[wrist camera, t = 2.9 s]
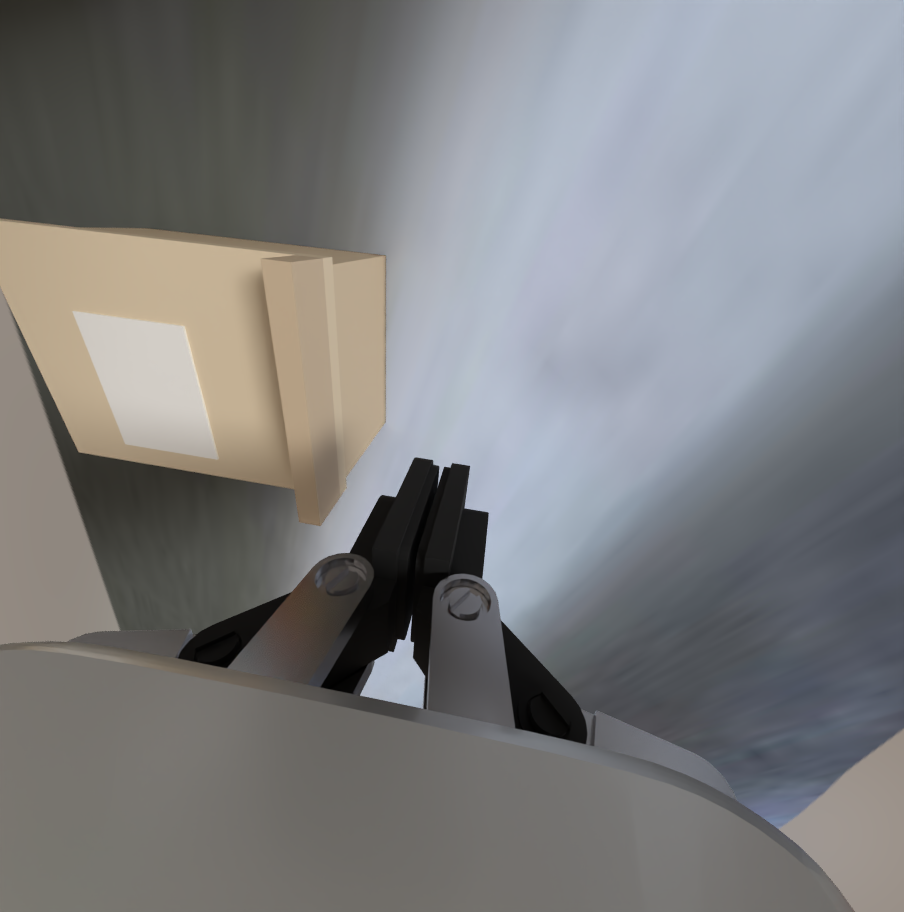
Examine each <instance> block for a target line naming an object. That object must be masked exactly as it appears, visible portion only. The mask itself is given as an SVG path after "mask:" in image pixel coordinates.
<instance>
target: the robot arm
mask: <svg viewBox="0 0 904 912" xmlns="http://www.w3.org/2000/svg"><path fill="white" fill-rule="evenodd" d="M469 470H470V466H467V465H461V464H454V463H452V465H451V468H449V467H444V469H443V472H442V476H441V479H440V482H439V485H438V477H439V466H436V465H433V460H428V459H422V458H414V460H413V462H412V464H411V466H410V468H409V471H408V473H407V475H406V477H405V479H404V481H403V483H402V485H401V488H400V490H399V492H398V494H397V496H396V497H391V496H385V495H382V496H380V498H379V499H378V501H377V503H376V505H375V506H374V508H373V510H372V512H371V514H370V516H369V518H368V519H367V521H366V523H365V525H364V527H363V529H362V531H361V533H360V534H359V536H358V538H357V540H356V542H355V544H354V546H353V547H352V549H351V551H350V553H341V554H335V555H332V556H328V557H327V558H325V559H323V560H321V561H319V562H318V563H317V564H316V565H315V566H314V567H313V568H312V569H311V570H310V571H309V573H308V574H307V575H306V576H305V577H304V578H303V580H302V581H301V582H300V583H299V584H298V585H297V587H296V588H295V589H294V590H293V591H292V592H291V593H289V594H286V595H284V596H281V597H279V598H277V599H274V600H272V601H269V602H267V603H265V604H262V605H260V606H257V607H255V608H253V609H250V610H248V611H245V612H243V613H240V614H238V615H236V616H233V617H231V618H228V619H226V620H224V621H221V622H219V623H216V624H214V625H212V626H210V627H208V628H206V629H204V630H202V631H201V632H199V633H198V634H192V632H191V629H178V630H140V631H104V632H103V631H102V632H94V633H88V634H84V635H81V636H79V637H76V638H74V639H71V640H69V641H68V642H54V641H46V642H25V643H24V642H23V643H10V644H3V645H0V912H855V911H854V910H853V908H852V907H851V905H850V904H849V903H848V901H847V900H846V899H845V897H844V896H843V894H842V893H841V892H840V890H839V889H838V887H837V886H836V885H835V884H834V883H833V881H832V880H831V879H830V878H829V877H828V876H827V874H826V873H825V872H824V871H823V869H822V868H821V867H820V866H819V865H818V864H817V863H816V862H815V861H814V860H813V859H812V858H811V857H810V856H809V855H808V854H807V853H806V852H805V851H804V850H803V849H802V848H801V847H799V846H798V845H797V844H796V843H795V842H793V841H792V840H791V839H790V838H788V837H787V836H786V835H785V834H783V833H782V832H781V831H780V830H778V829H777V828H776V827H774V826H773V825H772V824H770V823H769V822H768V821H766V820H765V819H763V818H762V817H760V816H759V815H757V814H756V813H754V812H753V811H751V810H750V809H748V808H747V807H745V806H744V805H742V804H741V803H739V802H738V801H737V800H736V797H735V794H734V792H733V790H732V789H731V787H730V786H729V784H728V783H727V781H726V780H725V778H724V777H723V775H722V774H720V773H719V772H718V771H717V770H716V769H715V768H714V767H713V766H712V765H711V764H710V763H709V762H708V761H706V760H704V759H703V758H701V757H700V756H698V755H696V754H695V753H692V752H690V751H688V750H686V749H683V748H681V747H679V746H676V745H674V744H672V743H670V742H667V741H665V740H663V739H660V738H658V737H656V736H654V735H651V734H649V733H647V732H644V731H642V730H640V729H638V728H635V727H633V726H631V725H628V724H626V723H624V722H622V721H619V720H617V719H615V718H613V717H610V716H608V715H606V714H603V713H601V712H599V711H596V713H595V715H593V714H591V713H588V712H586V711H584V710H582V709H581V708H580V707H579V705H578V704H577V703H576V701H575V700H574V699H573V697H572V696H571V695H570V694H569V693H568V692H567V691H566V690H565V688H564V687H563V686H562V685H561V684H560V683H559V682H558V681H557V680H556V679H555V678H554V677H553V676H552V675H551V673H550V672H549V671H548V670H547V669H546V668H545V667H544V666H543V665H542V664H541V663H540V662H539V661H538V660H537V658H536V657H535V656H534V655H533V654H532V653H531V652H530V651H529V650H528V649H527V648H526V647H525V646H524V644H523V643H522V642H521V641H520V640H519V639H518V638H517V637H516V636H515V635H514V634H513V633H512V632H511V631H510V629H509V628H508V627H507V626H506V625H505V624H504V623H503V622H502V621H501V618H500V611H499V604H498V599H497V596H496V592H495V591H494V590H493V588H492V587H491V586H490V585H489V584H488V583H487V582H486V581H484V580H483V579H482V576H483V566H484V556H485V546H486V535H487V525H488V514H489V513H488V512H482V511H476V510H470V509H464V507H465V499H466V492H467V485H468V477H469ZM411 617H412V626H411V642H414V652H413V658H414V660H415V661H416V663H417V664H418V666H419V667H420V669H421V670H422V672H423V673H424V675H425V680H424V697H423V709H421V708H417V707H412V706H407V705H402V704H397V703H393V702H388V701H383V700H378V699H373V698H369V697H364V696H360V694H361V692H362V690H363V688H364V686H365V684H366V682H367V680H368V678H369V676H370V674H371V672H372V669H373V666H374V660H376V659H377V658H379V657H381V656H383V655H384V654H386V653H388V651H391V652H394V649H395V646H396V643H397V639H401V640H405V638H406V635H407V631H408V627H409V624H410V620H411Z"/></svg>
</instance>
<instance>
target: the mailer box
mask: <svg viewBox="0 0 904 912" xmlns="http://www.w3.org/2000/svg"><path fill="white" fill-rule="evenodd" d="M78 228H79V227H78ZM87 229H95V230H104V231H113V232H121V233H130V234H138V235H147V236H156V237H164V238H173V239H182V240H190V241H199V242H207V243H216V244H225V245H233V246H242V247H250V248H259V249H268V250H276V251H285V252H293V253H302V254H311V255H319V256H328V257H332V261H333V277H334V293H335V310H336V326H337V342H338V358H339V374H340V390H341V406H342V423H343V439H344V455H345V471H346V477H347V476H348V474H349V473H350V471H351V470H352V468H353V467H354V466H355V464H356V463H357V461H358V460H359V459H360V457H361V456H362V454H363V453H364V452H365V450H366V449H367V447H368V446H369V445H370V443H371V442H372V440H373V439H374V438H375V436H376V435H377V433H378V432H379V431H380V429H381V428H382V426H383V425H384V424H385V420H386V256H385V255H377V254H368V253H359V252H350V251H342V250H333V249H324V248H315V247H307V246H298V245H289V244H280V243H272V242H263V241H254V240H245V239H237V238H228V237H219V236H210V235H202V234H193V233H184V232H176V231H167V230H158V229H149V228H87Z"/></svg>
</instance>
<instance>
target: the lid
mask: <svg viewBox="0 0 904 912" xmlns="http://www.w3.org/2000/svg"><path fill="white" fill-rule="evenodd" d="M0 287H1V289H2V292H3V294H4V296H5V298H6V300H7V302H8V304H9V306H10V308H11V310H12V313H13V315H14V317H15V319H16V321H17V323H18V325H19V327H20V329H21V332H22V334H23V336H24V338H25V340H26V342H27V344H28V346H29V348H30V351H31V353H32V355H33V357H34V359H35V361H36V363H37V365H38V367H39V369H40V372H41V374H42V376H43V378H44V380H45V382H46V384H47V386H48V388H49V391H50V393H51V395H52V397H53V399H54V401H55V403H56V405H57V407H58V410H59V412H60V414H61V416H62V418H63V420H64V422H65V424H66V426H67V428H68V431H69V433H70V435H71V437H72V439H73V441H74V443H75V445H76V447H77V450H78V452H81V453H86V454H92V455H98V456H104V457H110V458H115V459H121V460H127V461H133V462H139V463H145V464H150V465H156V466H162V467H168V468H174V469H180V470H185V471H191V472H197V473H203V474H209V475H215V476H220V477H226V478H232V479H238V480H244V481H249V482H255V483H261V484H267V485H273V486H279V487H284V488H290V489H294V490H295V496H296V503H297V510H298V517H299V522H301V523H306V524H312V525H318V526H321V525H322V523H323V522H324V520H325V519H326V517H327V516H328V514H329V513H330V511H331V510H332V509H333V507H334V506H335V504H336V503H337V501H338V500H339V498H340V497H341V495H342V494H343V492H344V491H345V489H346V488H347V487H346V471H345V455H344V439H343V423H342V406H341V390H340V374H339V358H338V342H337V326H336V310H335V293H334V277H333V261H332V257H328V256H319V255H311V254H302V253H293V252H285V251H276V250H268V249H259V248H250V247H242V246H233V245H225V244H216V243H207V242H199V241H190V240H182V239H173V238H164V237H156V236H147V235H138V234H130V233H121V232H113V231H104V230H95V229H87V228H78V227H70V226H61V225H52V224H44V223H35V222H27V221H18V220H9V219H1V218H0Z"/></svg>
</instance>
